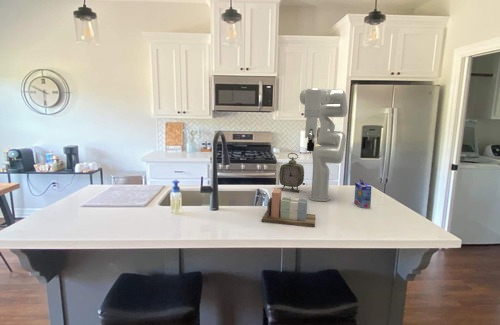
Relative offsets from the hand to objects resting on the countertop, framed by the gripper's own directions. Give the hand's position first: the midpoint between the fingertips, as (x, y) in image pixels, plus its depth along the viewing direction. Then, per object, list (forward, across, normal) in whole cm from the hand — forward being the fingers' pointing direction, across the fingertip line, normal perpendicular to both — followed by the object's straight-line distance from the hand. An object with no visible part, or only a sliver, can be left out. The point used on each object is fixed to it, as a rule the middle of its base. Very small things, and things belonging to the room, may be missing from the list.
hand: (310, 149), depth 146 cm
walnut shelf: (+32, +13, -8) cm, 36 cm away
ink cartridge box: (+33, -21, +29) cm, 48 cm away
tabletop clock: (+33, -43, -12) cm, 55 cm away
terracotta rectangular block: (+31, +13, -14) cm, 36 cm away
